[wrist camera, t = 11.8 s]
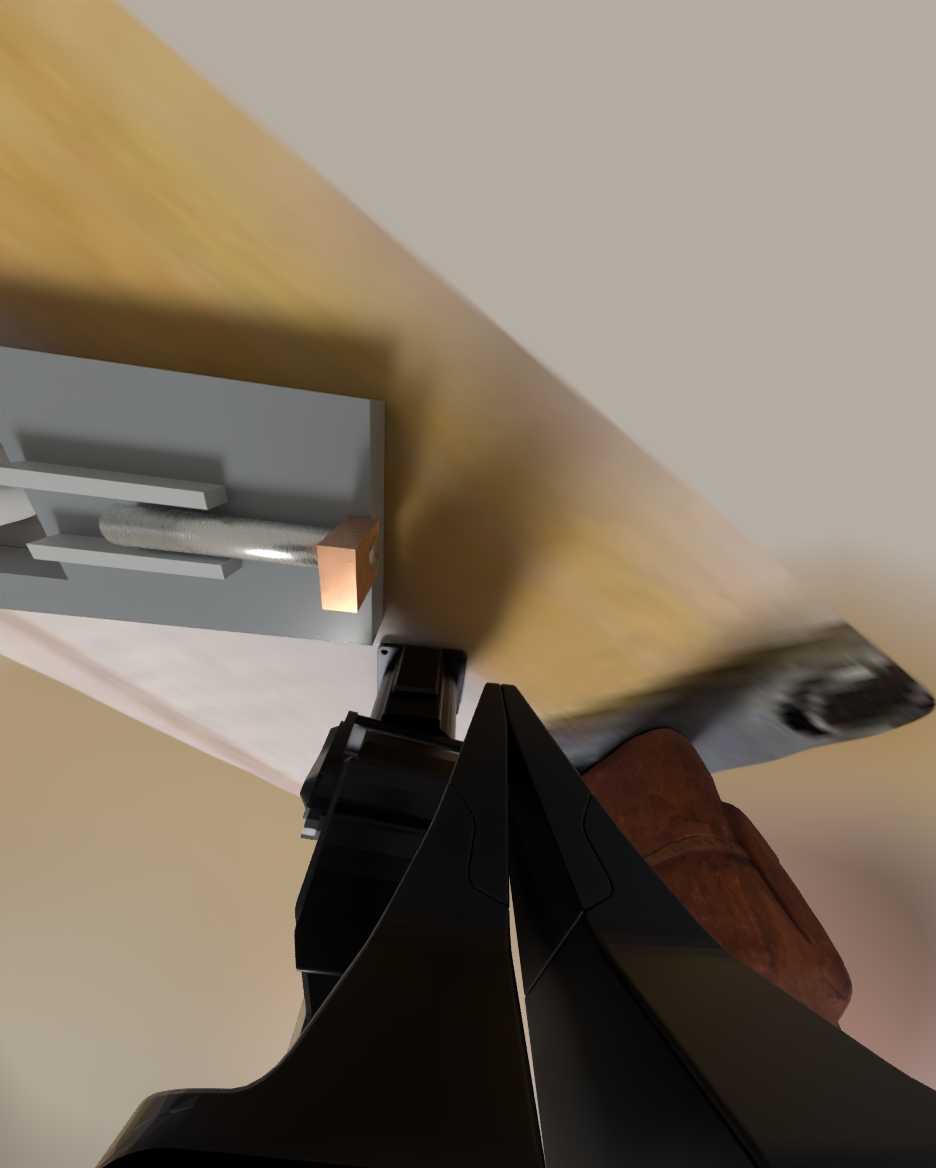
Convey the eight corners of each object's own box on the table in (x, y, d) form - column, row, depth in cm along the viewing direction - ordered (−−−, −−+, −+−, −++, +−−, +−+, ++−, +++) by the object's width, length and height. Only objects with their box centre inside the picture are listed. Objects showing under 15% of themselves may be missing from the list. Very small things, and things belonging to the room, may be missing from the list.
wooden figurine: (608, 802, 34) (732, 1148, 18) (562, 781, 32) (653, 1142, 16) (704, 739, 29) (983, 1127, 14) (656, 711, 28) (909, 1117, 12)
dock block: (383, 618, 23) (365, 661, 19) (-38, 574, 22) (-151, 612, 18) (385, 401, 17) (359, 398, 13) (-208, 315, 15) (-444, 283, 11)
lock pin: (379, 571, 18) (357, 612, 15) (149, 545, 17) (65, 582, 14) (379, 518, 17) (355, 549, 13) (129, 488, 16) (30, 511, 12)
